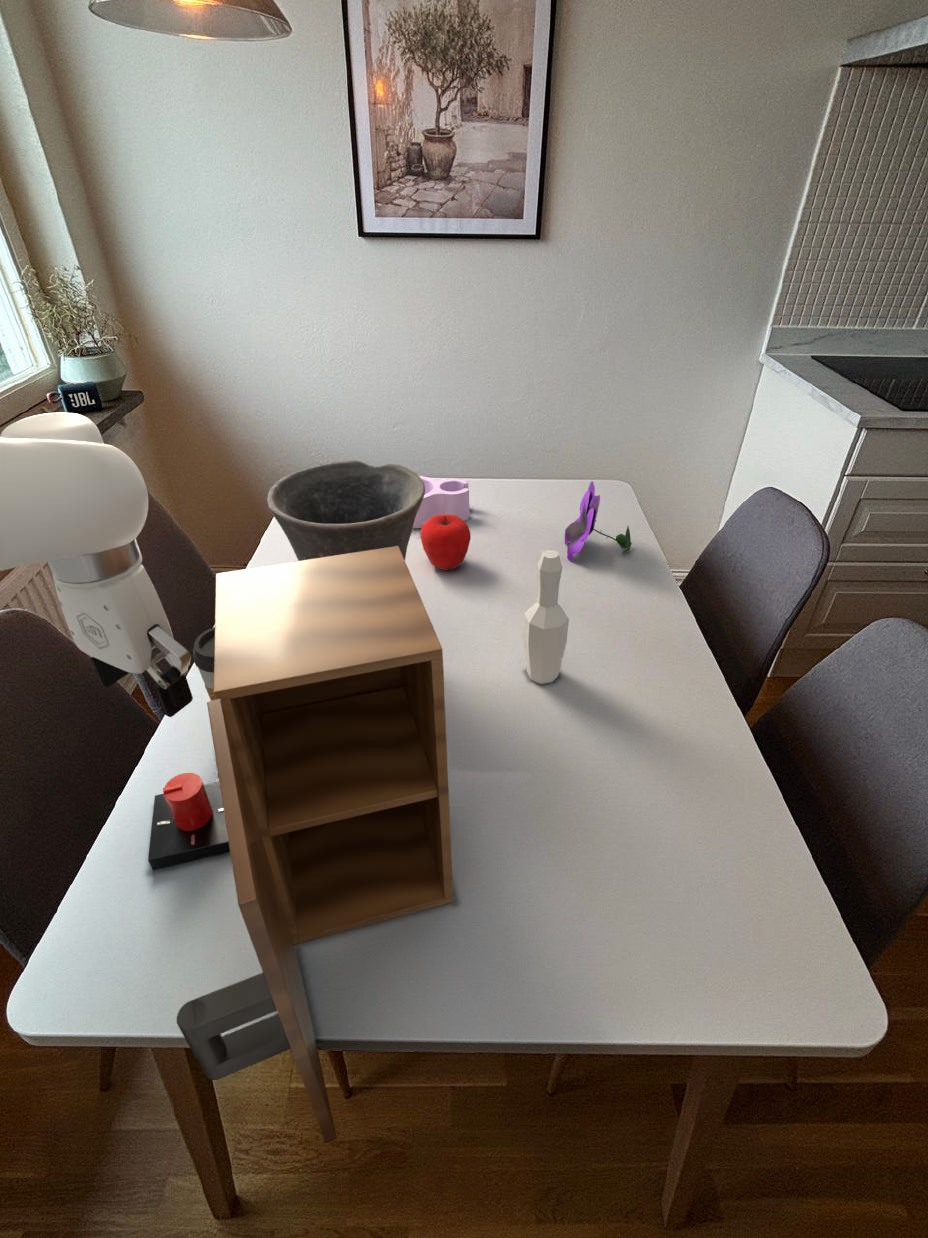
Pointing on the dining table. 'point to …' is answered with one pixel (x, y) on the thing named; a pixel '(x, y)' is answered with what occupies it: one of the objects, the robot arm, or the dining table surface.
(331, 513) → the vase
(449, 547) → the apple
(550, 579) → the faceted bottle
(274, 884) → the cupboard door
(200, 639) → the coffee cup
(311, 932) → the cupboard
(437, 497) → the purple cup holder
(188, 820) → the valve knob
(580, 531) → the flower
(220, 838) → the valve panel
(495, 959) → the dining table surface
